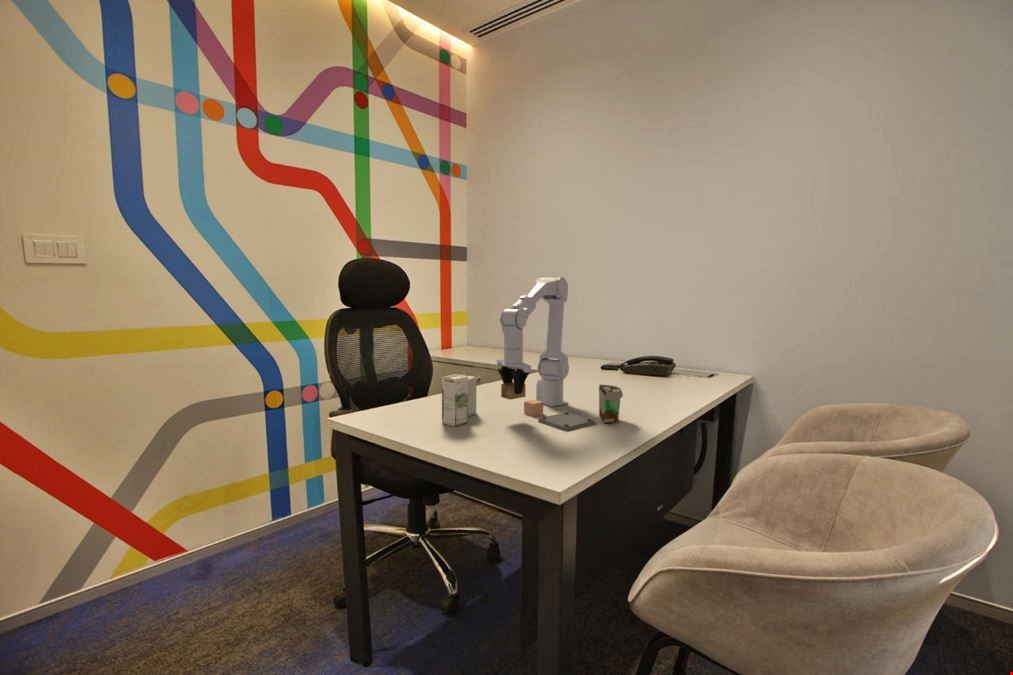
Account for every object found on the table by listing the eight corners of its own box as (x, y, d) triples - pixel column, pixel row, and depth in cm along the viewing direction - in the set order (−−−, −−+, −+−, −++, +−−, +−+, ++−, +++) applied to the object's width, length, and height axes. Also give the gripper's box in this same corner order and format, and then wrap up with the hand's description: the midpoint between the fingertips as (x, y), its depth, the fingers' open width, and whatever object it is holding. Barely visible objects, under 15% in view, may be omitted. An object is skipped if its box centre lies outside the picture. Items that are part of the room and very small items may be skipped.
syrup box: (455, 419, 151) (454, 373, 149) (468, 422, 147) (468, 375, 146) (441, 423, 146) (440, 376, 145) (455, 427, 143) (454, 378, 141)
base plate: (538, 421, 148) (538, 416, 148) (566, 415, 156) (566, 410, 156) (566, 431, 139) (566, 425, 139) (594, 423, 146) (594, 418, 146)
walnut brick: (501, 396, 149) (501, 384, 149) (516, 394, 153) (516, 381, 152) (510, 399, 146) (510, 386, 145) (525, 396, 149) (525, 384, 149)
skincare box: (465, 411, 160) (464, 375, 159) (477, 413, 158) (477, 376, 157) (455, 416, 155) (455, 378, 153) (468, 417, 153) (467, 379, 151)
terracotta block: (524, 413, 158) (524, 401, 158) (534, 411, 161) (534, 399, 160) (532, 416, 155) (532, 404, 154) (543, 414, 157) (543, 402, 157)
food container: (626, 426, 144) (627, 393, 143) (605, 426, 144) (606, 392, 143) (617, 414, 156) (618, 384, 155) (598, 414, 156) (599, 384, 155)
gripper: (488, 346, 151) (489, 389, 153) (518, 352, 140) (518, 398, 141) (506, 345, 155) (506, 386, 157) (536, 350, 144) (536, 395, 145)
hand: (513, 392), depth 149 cm, fingers closed on walnut brick, 4 cm apart
